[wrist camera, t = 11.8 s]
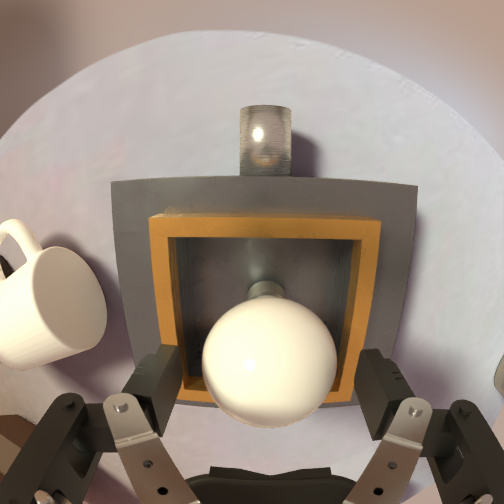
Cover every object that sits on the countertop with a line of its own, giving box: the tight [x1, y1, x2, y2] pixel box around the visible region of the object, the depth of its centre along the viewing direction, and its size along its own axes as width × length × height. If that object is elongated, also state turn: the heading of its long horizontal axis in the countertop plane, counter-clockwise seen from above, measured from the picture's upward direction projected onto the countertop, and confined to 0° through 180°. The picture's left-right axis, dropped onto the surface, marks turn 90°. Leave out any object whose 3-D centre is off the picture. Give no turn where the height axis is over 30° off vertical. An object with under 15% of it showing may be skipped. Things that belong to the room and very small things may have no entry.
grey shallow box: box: [111, 105, 418, 408], centre depth 18 cm, size 18×20×6 cm
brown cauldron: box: [0, 415, 83, 504], centre depth 23 cm, size 24×24×16 cm
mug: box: [0, 219, 107, 371], centre depth 19 cm, size 12×10×8 cm
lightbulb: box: [201, 281, 337, 428], centre depth 16 cm, size 6×6×11 cm
